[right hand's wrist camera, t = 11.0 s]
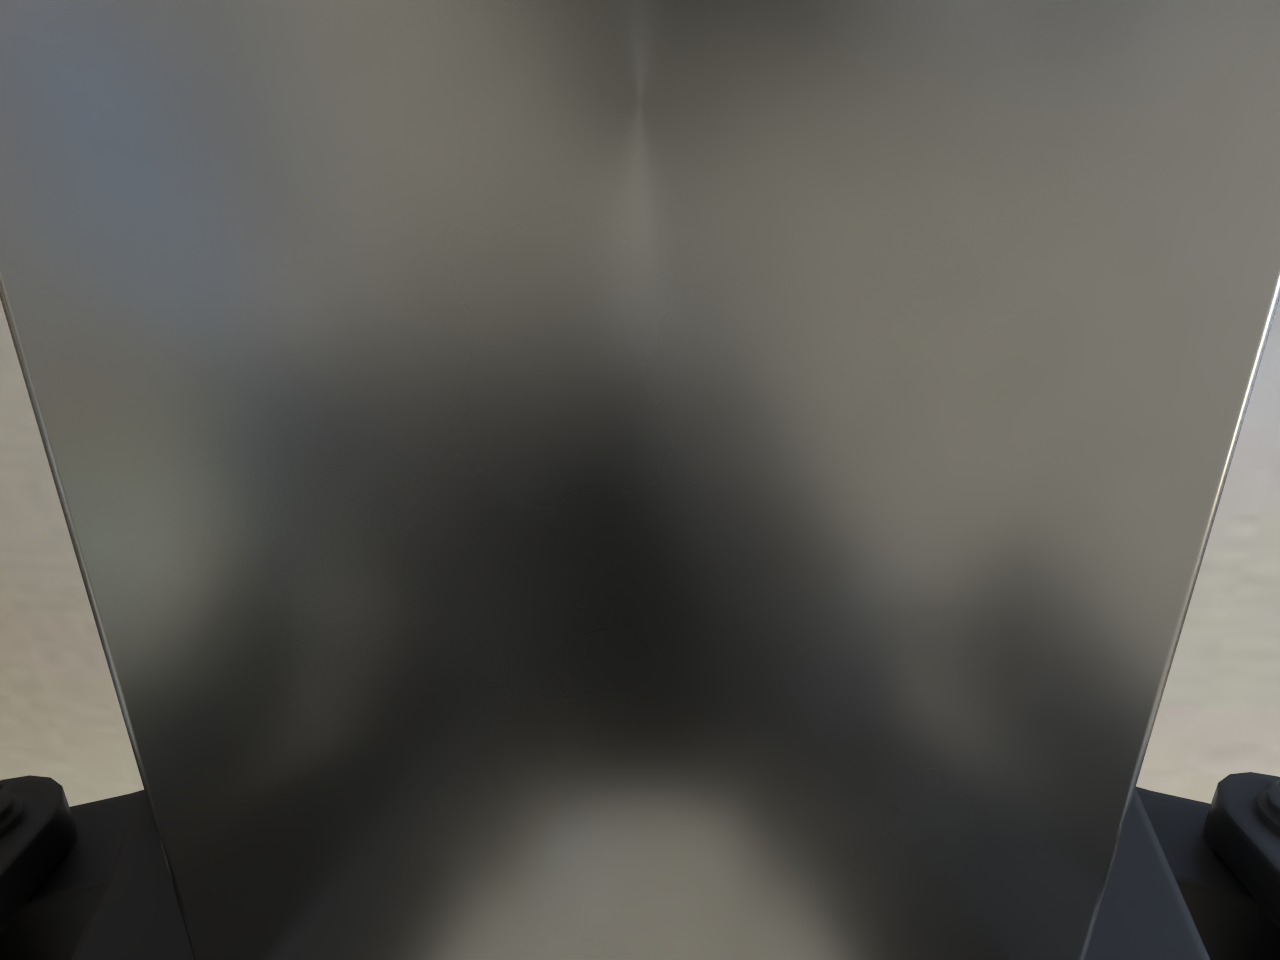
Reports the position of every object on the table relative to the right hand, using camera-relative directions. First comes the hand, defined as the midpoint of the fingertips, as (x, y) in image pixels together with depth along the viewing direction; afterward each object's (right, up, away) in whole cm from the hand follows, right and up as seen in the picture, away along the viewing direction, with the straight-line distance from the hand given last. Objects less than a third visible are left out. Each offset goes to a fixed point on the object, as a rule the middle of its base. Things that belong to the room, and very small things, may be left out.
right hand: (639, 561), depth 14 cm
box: (0, +7, -1) cm, 7 cm away
